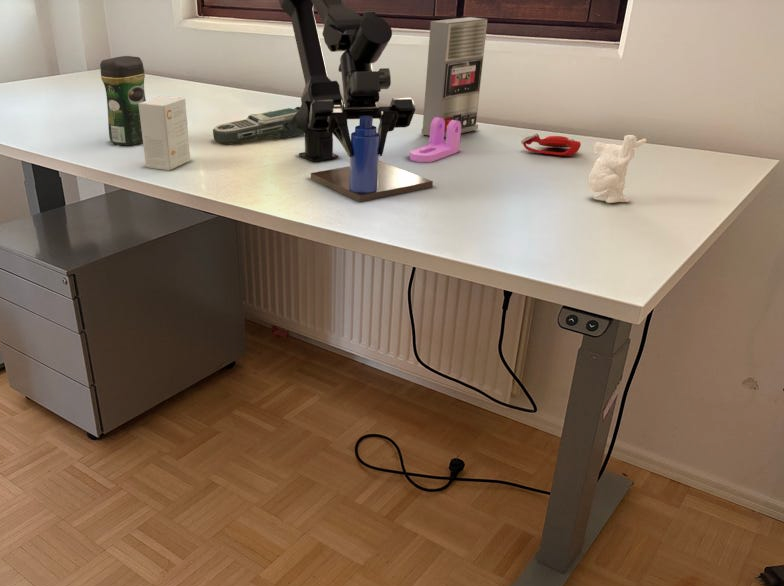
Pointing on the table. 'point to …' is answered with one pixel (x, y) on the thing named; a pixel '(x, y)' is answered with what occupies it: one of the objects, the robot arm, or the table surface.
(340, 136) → the robot arm
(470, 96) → the cassette tape recorder
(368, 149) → the blue bottle
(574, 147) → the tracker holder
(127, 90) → the coffee jar
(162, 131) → the small box
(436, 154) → the bracket
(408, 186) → the walnut board
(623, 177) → the white crouching figurine
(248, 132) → the communication device
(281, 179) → the table surface
